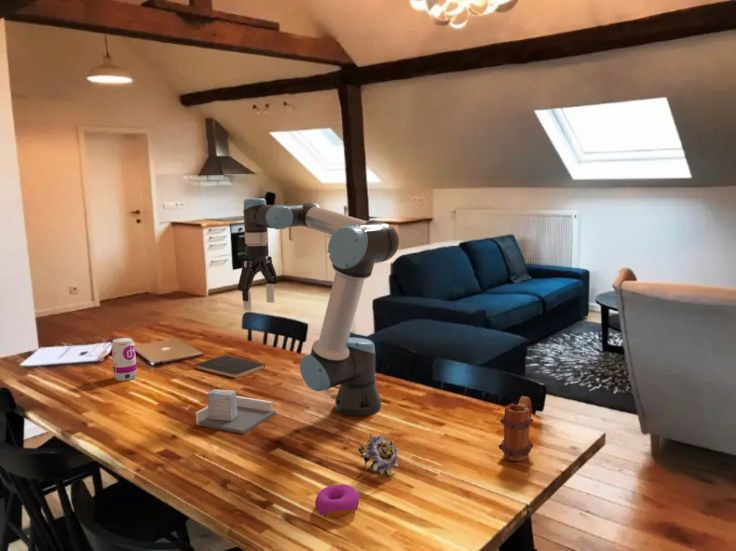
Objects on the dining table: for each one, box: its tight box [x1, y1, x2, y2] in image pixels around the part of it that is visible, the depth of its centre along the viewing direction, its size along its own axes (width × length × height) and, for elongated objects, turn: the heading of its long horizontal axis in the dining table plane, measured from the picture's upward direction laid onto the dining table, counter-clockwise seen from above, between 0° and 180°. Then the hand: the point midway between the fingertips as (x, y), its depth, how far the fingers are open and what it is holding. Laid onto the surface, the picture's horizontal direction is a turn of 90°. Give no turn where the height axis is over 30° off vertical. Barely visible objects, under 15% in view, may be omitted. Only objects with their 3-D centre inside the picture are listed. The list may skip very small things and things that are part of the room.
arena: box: [195, 395, 277, 435], centre depth 201 cm, size 18×17×4 cm
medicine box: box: [206, 388, 238, 421], centre depth 199 cm, size 8×4×9 cm, turn 75°
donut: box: [314, 483, 360, 518], centre depth 147 cm, size 10×10×4 cm
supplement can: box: [110, 337, 138, 382], centre depth 243 cm, size 8×8×15 cm
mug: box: [498, 395, 534, 462], centre depth 172 cm, size 15×8×15 cm, turn 148°
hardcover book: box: [195, 354, 266, 379], centre depth 254 cm, size 16×23×2 cm
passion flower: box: [358, 432, 400, 477], centre depth 166 cm, size 11×11×12 cm
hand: (259, 306), depth 218 cm, fingers open, 13 cm apart
